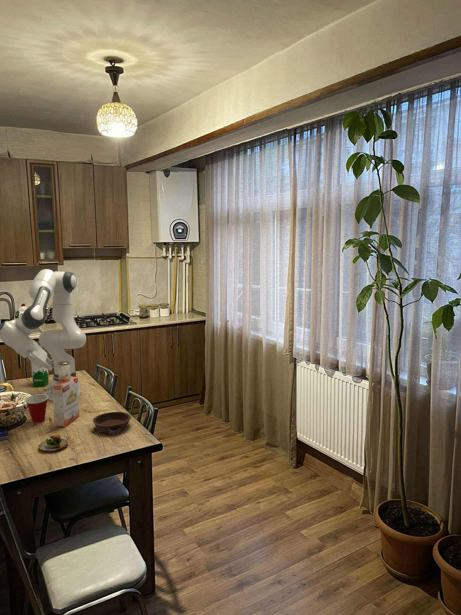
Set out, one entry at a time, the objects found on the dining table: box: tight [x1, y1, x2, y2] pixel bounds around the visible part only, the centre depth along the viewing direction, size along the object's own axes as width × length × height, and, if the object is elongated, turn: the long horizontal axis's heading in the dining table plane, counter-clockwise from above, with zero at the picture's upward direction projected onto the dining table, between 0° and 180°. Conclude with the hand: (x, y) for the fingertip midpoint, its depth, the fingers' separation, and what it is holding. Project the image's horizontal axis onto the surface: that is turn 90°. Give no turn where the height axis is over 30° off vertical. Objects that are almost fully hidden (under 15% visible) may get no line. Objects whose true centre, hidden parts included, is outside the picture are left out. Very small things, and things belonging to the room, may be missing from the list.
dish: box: [92, 411, 132, 435], centre depth 217 cm, size 18×22×5 cm
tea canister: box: [58, 361, 71, 382], centre depth 222 cm, size 6×6×9 cm
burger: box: [38, 432, 69, 452], centre depth 197 cm, size 12×12×8 cm
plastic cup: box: [24, 393, 49, 424], centre depth 226 cm, size 11×11×12 cm
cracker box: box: [52, 376, 80, 428], centre depth 224 cm, size 14×6×21 cm, turn 168°
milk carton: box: [30, 361, 50, 388], centre depth 283 cm, size 9×9×20 cm
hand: (52, 366), depth 220 cm, fingers open, 8 cm apart
